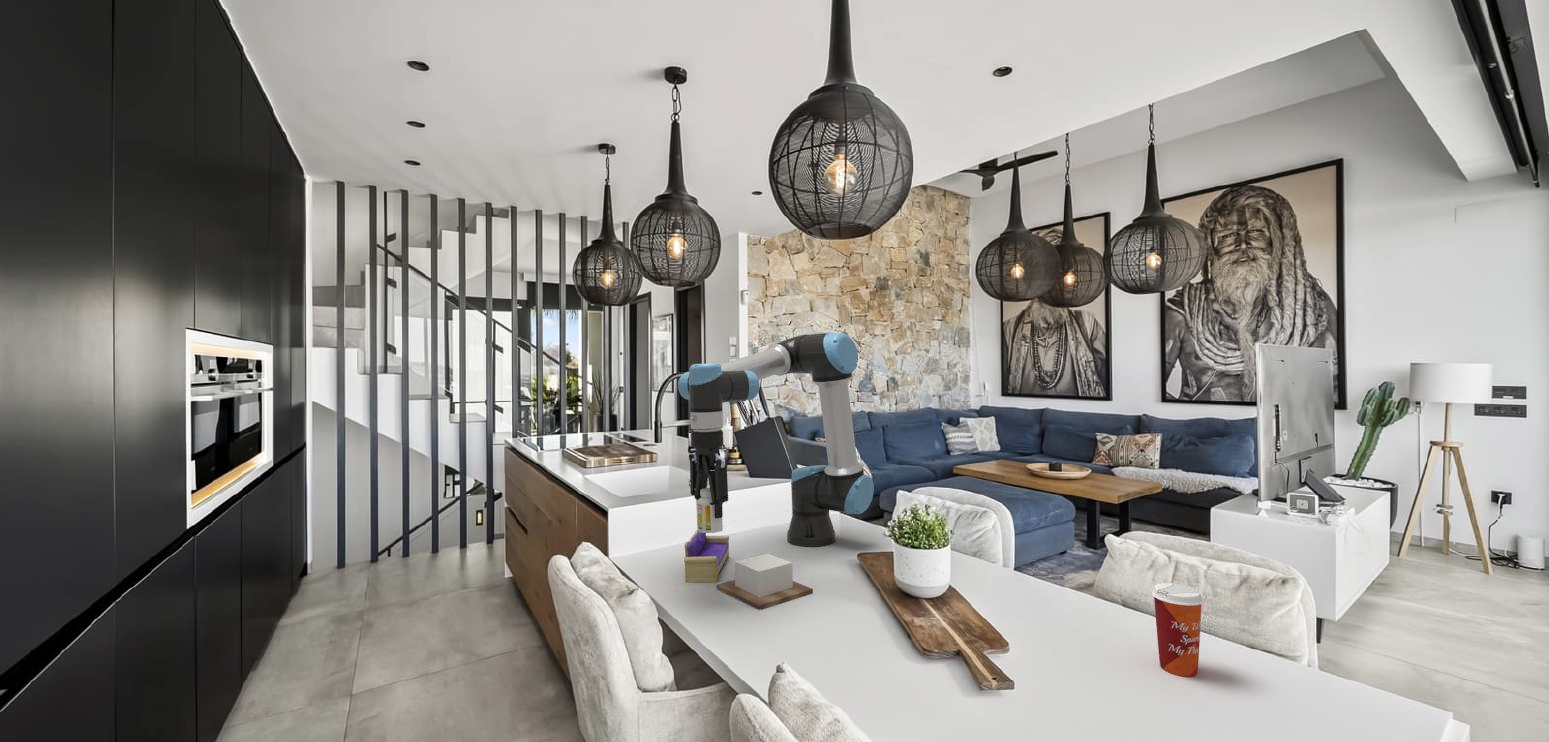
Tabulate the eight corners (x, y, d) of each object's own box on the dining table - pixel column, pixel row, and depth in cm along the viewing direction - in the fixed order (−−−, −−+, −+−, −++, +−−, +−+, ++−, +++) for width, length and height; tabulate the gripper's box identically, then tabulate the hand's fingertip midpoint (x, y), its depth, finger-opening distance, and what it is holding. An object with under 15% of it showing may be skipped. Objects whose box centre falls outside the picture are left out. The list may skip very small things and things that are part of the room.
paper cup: (1181, 683, 105) (1179, 600, 105) (1142, 662, 113) (1141, 585, 113) (1216, 675, 108) (1215, 594, 108) (1176, 656, 115) (1175, 580, 115)
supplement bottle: (693, 532, 145) (692, 491, 145) (705, 526, 150) (704, 486, 150) (714, 534, 143) (713, 492, 142) (725, 528, 147) (724, 487, 147)
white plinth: (767, 577, 160) (767, 553, 160) (792, 587, 152) (792, 562, 152) (735, 586, 154) (734, 561, 154) (759, 597, 146) (759, 571, 146)
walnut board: (767, 574, 165) (767, 570, 165) (812, 593, 151) (812, 589, 151) (716, 588, 155) (716, 584, 155) (759, 610, 141) (759, 605, 141)
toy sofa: (717, 584, 159) (716, 543, 159) (684, 583, 160) (683, 543, 160) (730, 558, 180) (729, 523, 180) (700, 558, 181) (699, 523, 181)
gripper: (673, 428, 151) (676, 524, 151) (714, 434, 136) (717, 540, 137) (700, 425, 155) (703, 519, 156) (742, 431, 141) (745, 534, 141)
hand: (709, 529), depth 146 cm, fingers closed on supplement bottle, 5 cm apart
